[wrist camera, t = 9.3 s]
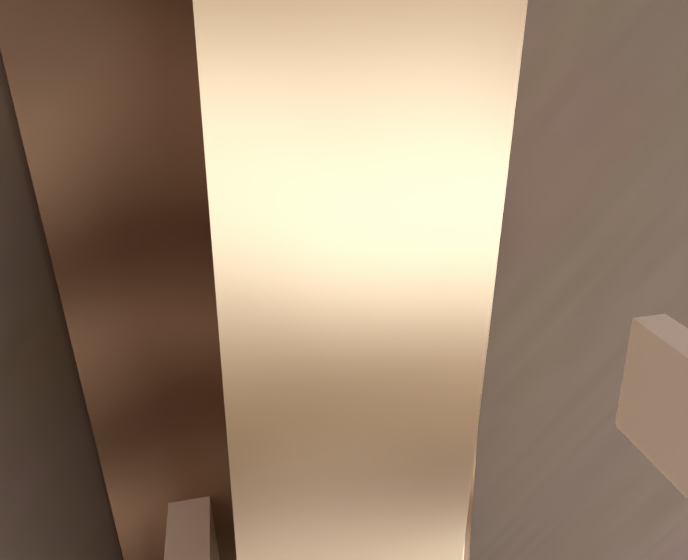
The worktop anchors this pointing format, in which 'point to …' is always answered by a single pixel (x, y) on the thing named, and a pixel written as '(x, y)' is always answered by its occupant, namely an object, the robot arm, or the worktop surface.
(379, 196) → the slat
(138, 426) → the walnut board
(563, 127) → the worktop surface
